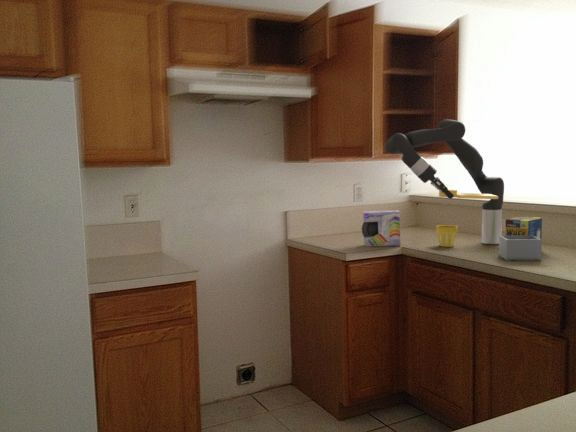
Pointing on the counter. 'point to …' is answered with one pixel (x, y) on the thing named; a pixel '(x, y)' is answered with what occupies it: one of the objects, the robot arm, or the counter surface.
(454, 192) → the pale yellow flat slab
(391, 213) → the cake pan box
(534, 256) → the tub
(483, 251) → the counter surface
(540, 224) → the protein box
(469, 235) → the counter surface
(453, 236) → the plant pot
